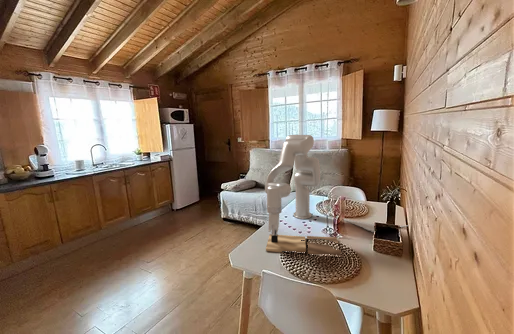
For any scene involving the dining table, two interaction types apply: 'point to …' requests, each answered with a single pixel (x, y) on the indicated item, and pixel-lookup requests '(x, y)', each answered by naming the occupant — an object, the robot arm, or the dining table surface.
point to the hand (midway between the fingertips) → (274, 241)
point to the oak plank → (287, 244)
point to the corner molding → (365, 225)
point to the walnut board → (322, 246)
